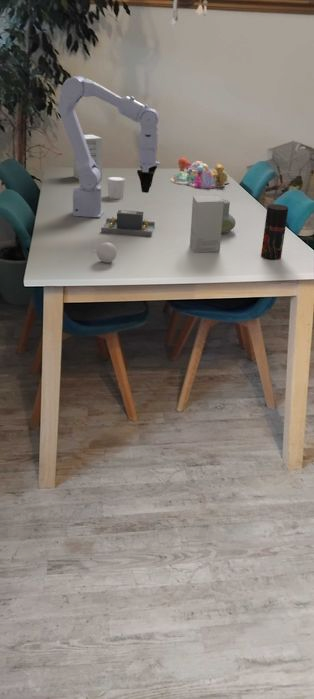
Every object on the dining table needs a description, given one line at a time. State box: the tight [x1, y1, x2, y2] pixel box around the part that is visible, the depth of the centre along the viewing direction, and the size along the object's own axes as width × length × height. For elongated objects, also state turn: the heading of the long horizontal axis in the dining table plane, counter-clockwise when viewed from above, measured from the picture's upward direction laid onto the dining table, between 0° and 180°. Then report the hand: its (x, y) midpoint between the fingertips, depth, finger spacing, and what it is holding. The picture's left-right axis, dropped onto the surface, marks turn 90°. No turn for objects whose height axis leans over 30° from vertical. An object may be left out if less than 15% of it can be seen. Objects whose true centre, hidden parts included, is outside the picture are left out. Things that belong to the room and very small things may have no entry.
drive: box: [116, 209, 144, 230], centre depth 207 cm, size 8×4×5 cm, turn 85°
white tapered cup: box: [106, 176, 126, 200], centre depth 243 cm, size 7×7×7 cm
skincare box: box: [189, 195, 224, 253], centre depth 191 cm, size 8×7×16 cm
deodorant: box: [260, 203, 289, 261], centre depth 189 cm, size 6×6×15 cm
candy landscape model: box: [170, 157, 230, 189], centre depth 272 cm, size 25×24×9 cm
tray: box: [100, 216, 156, 237], centre depth 208 cm, size 16×11×3 cm
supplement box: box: [72, 134, 103, 181], centre depth 266 cm, size 10×9×17 cm
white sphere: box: [92, 241, 118, 264], centre depth 179 cm, size 8×6×6 cm
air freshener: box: [221, 198, 236, 235], centre depth 210 cm, size 11×8×10 cm
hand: (146, 189), depth 216 cm, fingers open, 7 cm apart
